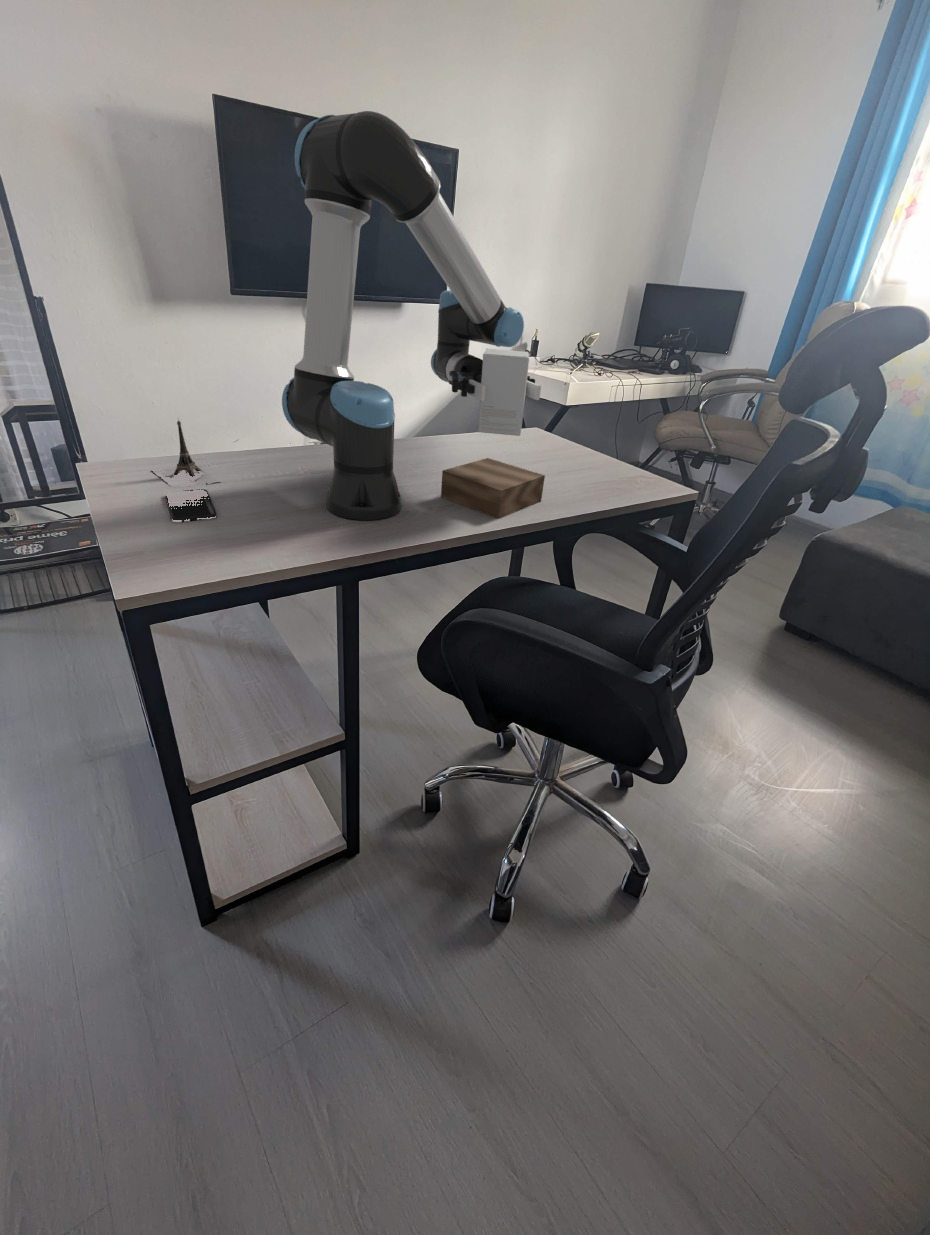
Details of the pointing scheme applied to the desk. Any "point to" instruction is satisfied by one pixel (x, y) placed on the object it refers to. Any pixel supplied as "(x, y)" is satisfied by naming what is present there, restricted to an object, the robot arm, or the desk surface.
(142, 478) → the desk surface
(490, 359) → the supplement box
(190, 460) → the eiffel tower figurine
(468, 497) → the walnut stand
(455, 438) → the desk surface
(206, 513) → the phone
